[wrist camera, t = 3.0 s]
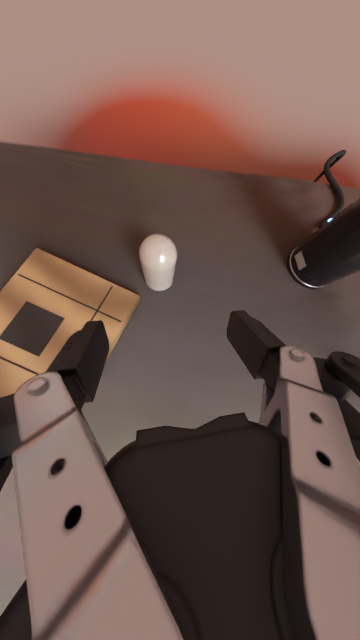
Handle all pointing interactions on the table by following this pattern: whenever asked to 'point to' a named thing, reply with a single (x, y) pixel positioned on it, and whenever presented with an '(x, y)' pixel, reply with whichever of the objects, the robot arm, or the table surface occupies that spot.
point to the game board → (53, 314)
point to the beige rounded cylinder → (158, 261)
